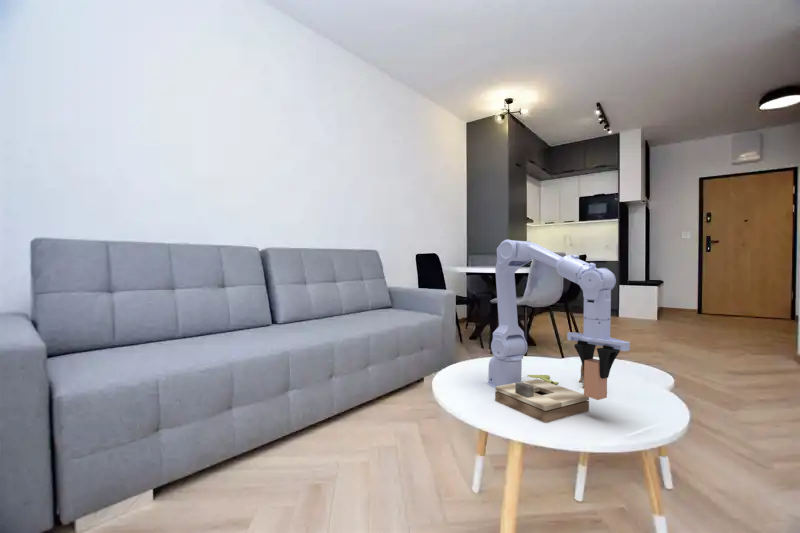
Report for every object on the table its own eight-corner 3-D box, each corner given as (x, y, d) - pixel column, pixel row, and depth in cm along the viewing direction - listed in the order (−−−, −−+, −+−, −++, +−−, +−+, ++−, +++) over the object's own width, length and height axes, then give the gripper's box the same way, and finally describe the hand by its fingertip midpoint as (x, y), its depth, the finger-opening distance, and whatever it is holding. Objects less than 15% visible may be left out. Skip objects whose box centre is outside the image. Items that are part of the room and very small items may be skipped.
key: (552, 389, 113) (552, 382, 113) (524, 378, 125) (524, 371, 125) (570, 386, 116) (570, 379, 116) (541, 376, 127) (541, 369, 127)
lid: (495, 390, 99) (495, 377, 99) (536, 382, 107) (537, 370, 107) (545, 410, 86) (545, 395, 86) (589, 399, 93) (589, 385, 93)
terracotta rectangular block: (583, 395, 90) (584, 360, 90) (592, 393, 92) (593, 358, 92) (597, 400, 87) (598, 363, 87) (606, 397, 89) (607, 361, 89)
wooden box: (495, 402, 99) (495, 391, 99) (536, 393, 107) (536, 383, 107) (545, 425, 86) (545, 412, 86) (588, 413, 93) (588, 401, 93)
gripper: (559, 315, 94) (558, 370, 94) (617, 323, 81) (616, 386, 81) (577, 314, 97) (576, 366, 97) (635, 321, 85) (634, 382, 85)
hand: (596, 375), depth 89 cm, fingers closed on terracotta rectangular block, 3 cm apart
